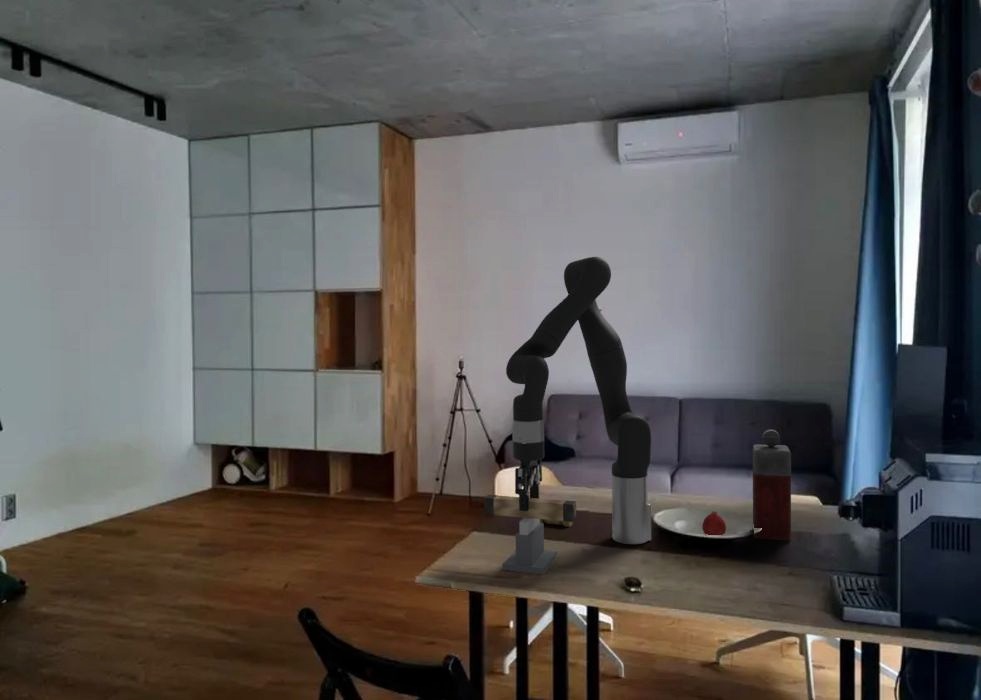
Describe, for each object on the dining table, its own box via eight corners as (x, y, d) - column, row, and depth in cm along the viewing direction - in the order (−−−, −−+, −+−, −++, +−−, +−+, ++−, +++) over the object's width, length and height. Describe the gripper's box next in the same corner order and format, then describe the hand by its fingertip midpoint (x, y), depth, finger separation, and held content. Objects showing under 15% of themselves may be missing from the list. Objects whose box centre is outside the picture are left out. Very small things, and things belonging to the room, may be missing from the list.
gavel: (557, 496, 215) (588, 499, 211) (557, 510, 215) (588, 513, 211) (535, 509, 196) (569, 512, 192) (535, 525, 196) (569, 528, 192)
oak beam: (484, 514, 167) (484, 497, 166) (488, 510, 169) (488, 494, 169) (573, 522, 159) (573, 504, 159) (576, 518, 162) (576, 501, 162)
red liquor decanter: (787, 528, 188) (787, 426, 187) (791, 540, 177) (791, 433, 176) (752, 525, 191) (752, 425, 190) (754, 537, 180) (753, 432, 179)
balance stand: (557, 557, 169) (556, 511, 168) (543, 574, 157) (543, 525, 157) (518, 553, 172) (517, 508, 171) (502, 570, 161) (501, 521, 160)
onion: (701, 543, 177) (701, 512, 177) (703, 536, 182) (703, 506, 182) (725, 545, 175) (725, 514, 175) (726, 538, 180) (726, 508, 180)
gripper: (522, 433, 171) (523, 497, 172) (503, 443, 158) (505, 512, 159) (551, 434, 169) (552, 499, 169) (535, 444, 155) (536, 515, 156)
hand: (529, 505), depth 164 cm, fingers open, 8 cm apart
